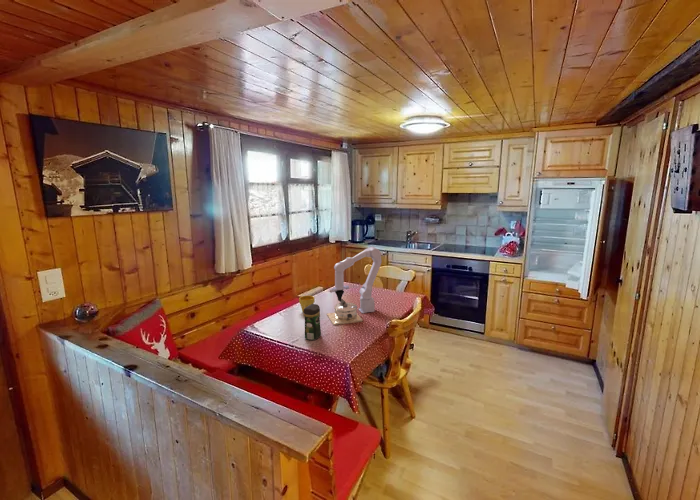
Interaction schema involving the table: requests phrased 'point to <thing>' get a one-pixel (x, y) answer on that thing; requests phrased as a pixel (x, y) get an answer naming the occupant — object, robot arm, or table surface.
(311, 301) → the plant pot
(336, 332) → the table surface
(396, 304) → the table surface
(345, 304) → the cooker lid
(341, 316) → the tan square board
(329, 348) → the table surface
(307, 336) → the coffee jar
